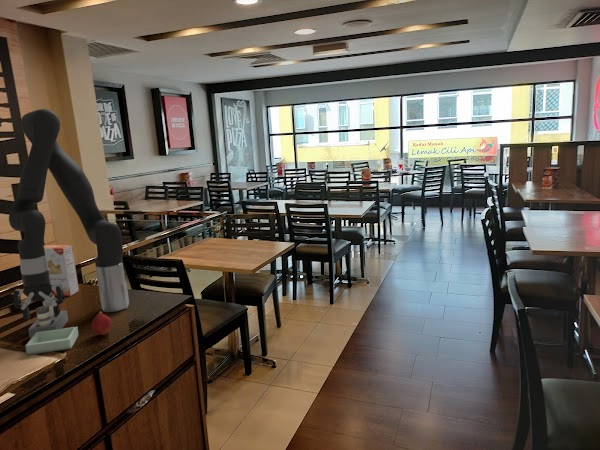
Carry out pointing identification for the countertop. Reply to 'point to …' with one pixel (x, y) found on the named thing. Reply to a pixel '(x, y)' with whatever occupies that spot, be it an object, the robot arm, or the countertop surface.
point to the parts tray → (52, 340)
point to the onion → (101, 324)
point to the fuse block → (56, 324)
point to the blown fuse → (43, 316)
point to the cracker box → (62, 268)
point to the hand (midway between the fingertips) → (42, 317)
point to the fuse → (46, 303)
